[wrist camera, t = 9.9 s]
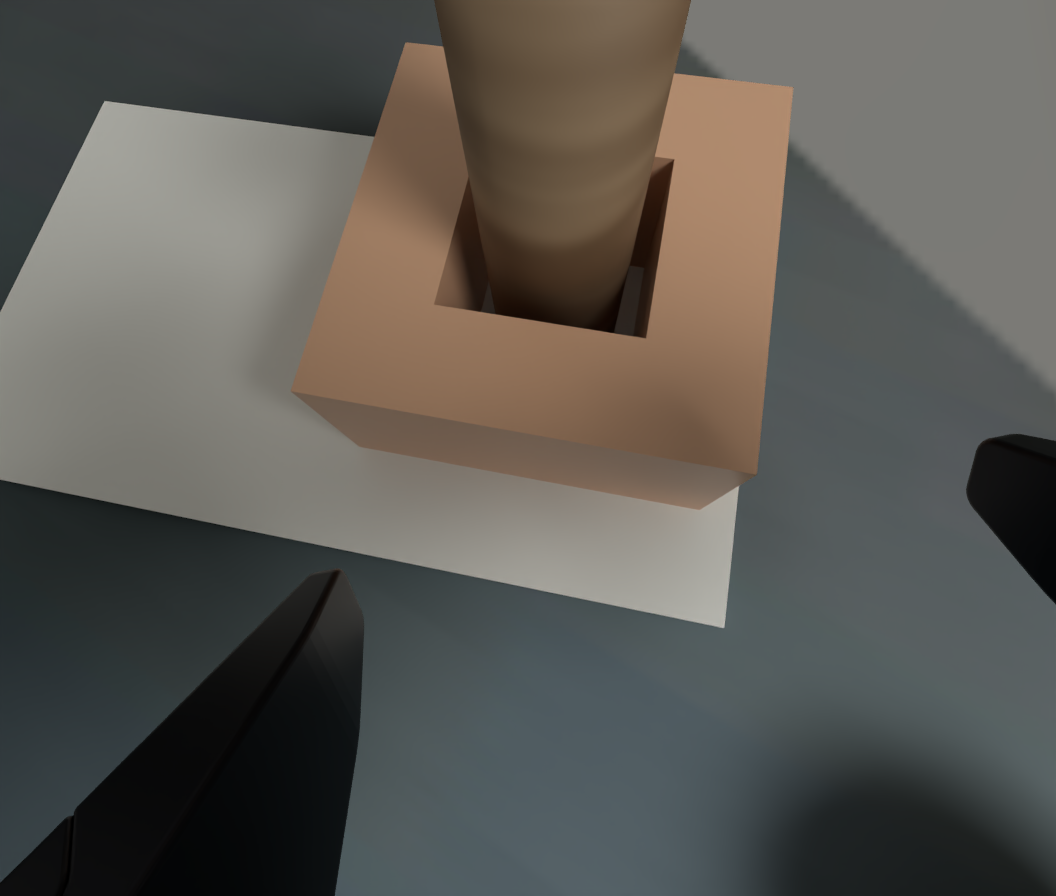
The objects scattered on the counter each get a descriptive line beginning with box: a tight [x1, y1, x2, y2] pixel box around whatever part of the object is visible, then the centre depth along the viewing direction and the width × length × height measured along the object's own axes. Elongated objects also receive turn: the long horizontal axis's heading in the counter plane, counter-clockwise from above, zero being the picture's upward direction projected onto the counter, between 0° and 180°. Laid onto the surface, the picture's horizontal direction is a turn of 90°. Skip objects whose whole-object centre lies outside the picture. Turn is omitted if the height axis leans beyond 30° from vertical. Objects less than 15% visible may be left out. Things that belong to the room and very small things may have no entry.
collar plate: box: [0, 42, 793, 628], centre depth 16 cm, size 14×24×5 cm, turn 79°
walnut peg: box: [434, 0, 691, 333], centre depth 11 cm, size 4×4×13 cm
